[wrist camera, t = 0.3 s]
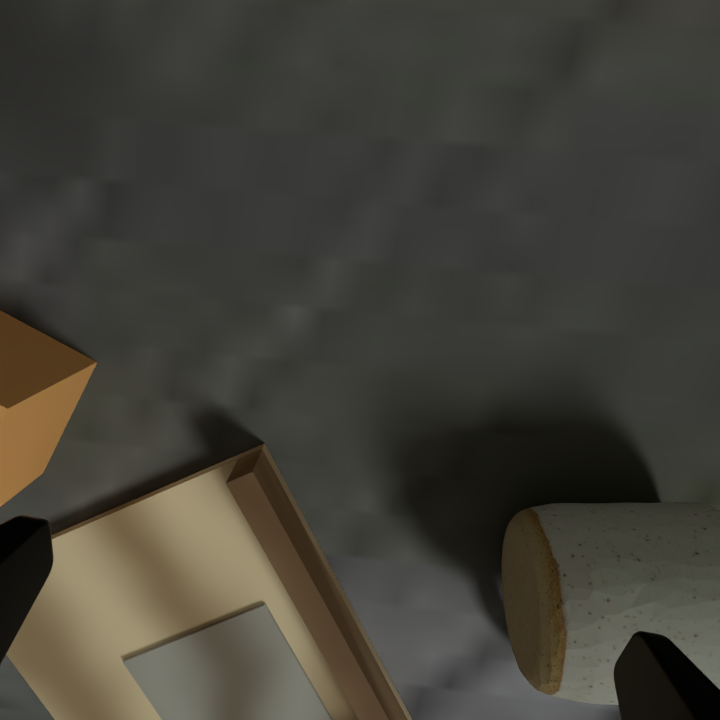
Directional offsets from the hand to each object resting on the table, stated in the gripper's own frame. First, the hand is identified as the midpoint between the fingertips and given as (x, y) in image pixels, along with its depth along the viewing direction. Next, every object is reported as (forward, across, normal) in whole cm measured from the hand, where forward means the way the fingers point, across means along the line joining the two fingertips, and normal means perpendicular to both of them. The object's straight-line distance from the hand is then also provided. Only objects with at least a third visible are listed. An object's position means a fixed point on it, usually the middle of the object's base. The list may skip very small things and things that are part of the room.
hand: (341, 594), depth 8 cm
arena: (+11, +5, +19) cm, 23 cm away
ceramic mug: (+14, -12, +11) cm, 22 cm away
